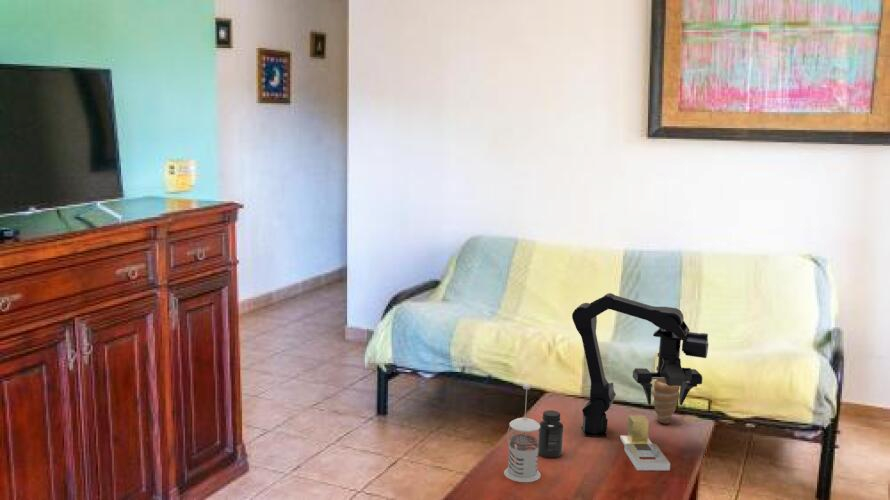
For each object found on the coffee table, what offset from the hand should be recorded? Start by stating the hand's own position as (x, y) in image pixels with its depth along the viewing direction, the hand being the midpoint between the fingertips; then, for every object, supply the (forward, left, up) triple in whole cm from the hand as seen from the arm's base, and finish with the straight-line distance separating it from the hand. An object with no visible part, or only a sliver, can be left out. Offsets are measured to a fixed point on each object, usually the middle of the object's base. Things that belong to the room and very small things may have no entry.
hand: (664, 404), depth 239 cm
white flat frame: (-7, -10, -12) cm, 18 cm away
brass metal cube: (-7, +1, -12) cm, 14 cm away
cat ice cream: (+6, +17, -13) cm, 22 cm away
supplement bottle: (-34, -6, -13) cm, 37 cm away
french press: (-44, -18, -13) cm, 49 cm away
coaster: (-7, +1, -12) cm, 14 cm away
